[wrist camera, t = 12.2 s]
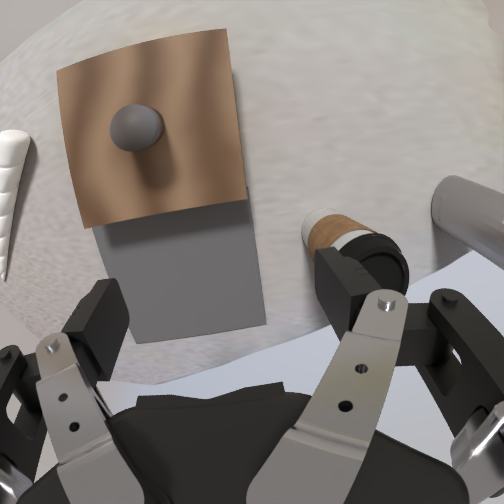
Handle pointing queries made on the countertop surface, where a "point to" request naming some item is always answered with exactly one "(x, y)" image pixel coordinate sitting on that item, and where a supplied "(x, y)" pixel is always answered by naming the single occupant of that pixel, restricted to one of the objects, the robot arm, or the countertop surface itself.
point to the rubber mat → (186, 270)
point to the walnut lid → (152, 128)
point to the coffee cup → (358, 247)
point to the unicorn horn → (10, 184)
